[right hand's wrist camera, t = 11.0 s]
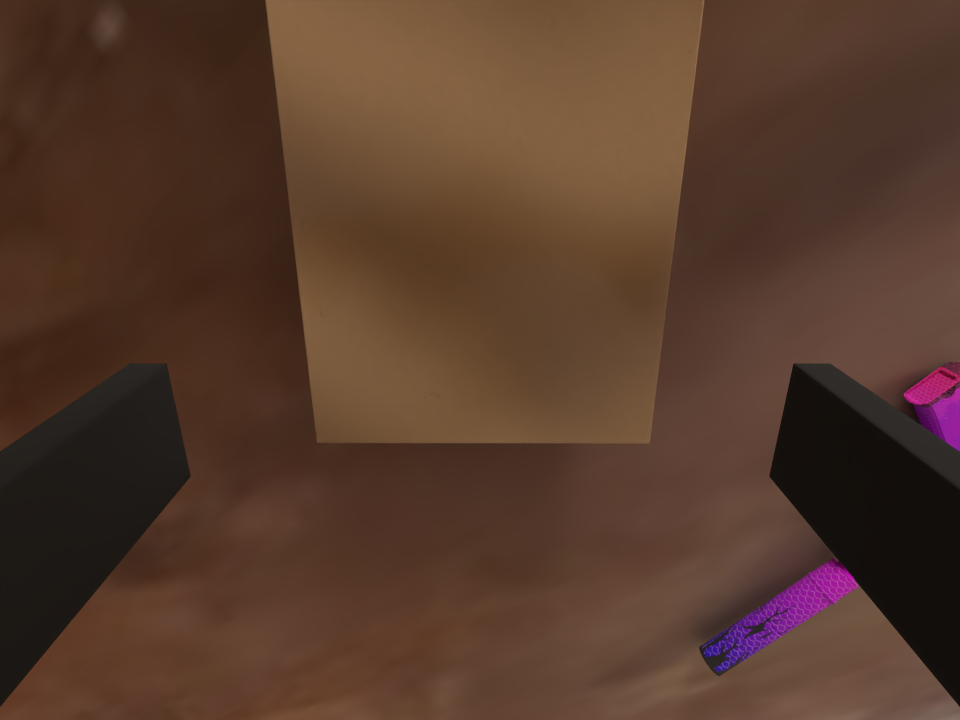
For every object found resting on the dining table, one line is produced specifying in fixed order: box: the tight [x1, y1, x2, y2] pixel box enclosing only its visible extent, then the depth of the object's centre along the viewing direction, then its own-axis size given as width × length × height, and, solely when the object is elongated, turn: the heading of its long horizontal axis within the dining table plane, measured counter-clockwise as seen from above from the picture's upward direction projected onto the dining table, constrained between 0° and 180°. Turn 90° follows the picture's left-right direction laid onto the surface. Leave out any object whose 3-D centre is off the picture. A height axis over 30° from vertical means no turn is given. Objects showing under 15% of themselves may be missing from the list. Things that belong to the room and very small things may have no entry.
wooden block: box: [265, 0, 704, 444], centre depth 22 cm, size 13×11×10 cm
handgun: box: [700, 362, 960, 676], centre depth 32 cm, size 21×8×2 cm, turn 136°
